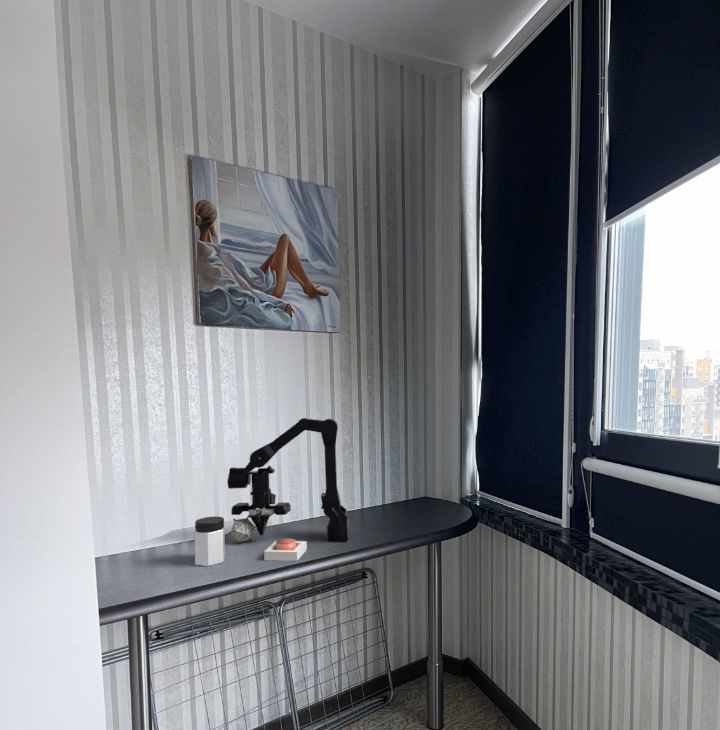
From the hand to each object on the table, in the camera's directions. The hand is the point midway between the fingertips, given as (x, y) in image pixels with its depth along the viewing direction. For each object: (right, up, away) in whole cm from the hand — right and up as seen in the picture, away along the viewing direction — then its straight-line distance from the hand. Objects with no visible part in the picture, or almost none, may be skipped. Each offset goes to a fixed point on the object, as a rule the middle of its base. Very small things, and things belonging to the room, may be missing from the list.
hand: (261, 535), depth 153 cm
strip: (-14, -3, +1) cm, 15 cm away
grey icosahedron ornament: (-7, -3, +1) cm, 7 cm away
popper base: (+10, -1, -13) cm, 16 cm away
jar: (-12, -2, -16) cm, 20 cm away
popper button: (+10, -1, -13) cm, 16 cm away
